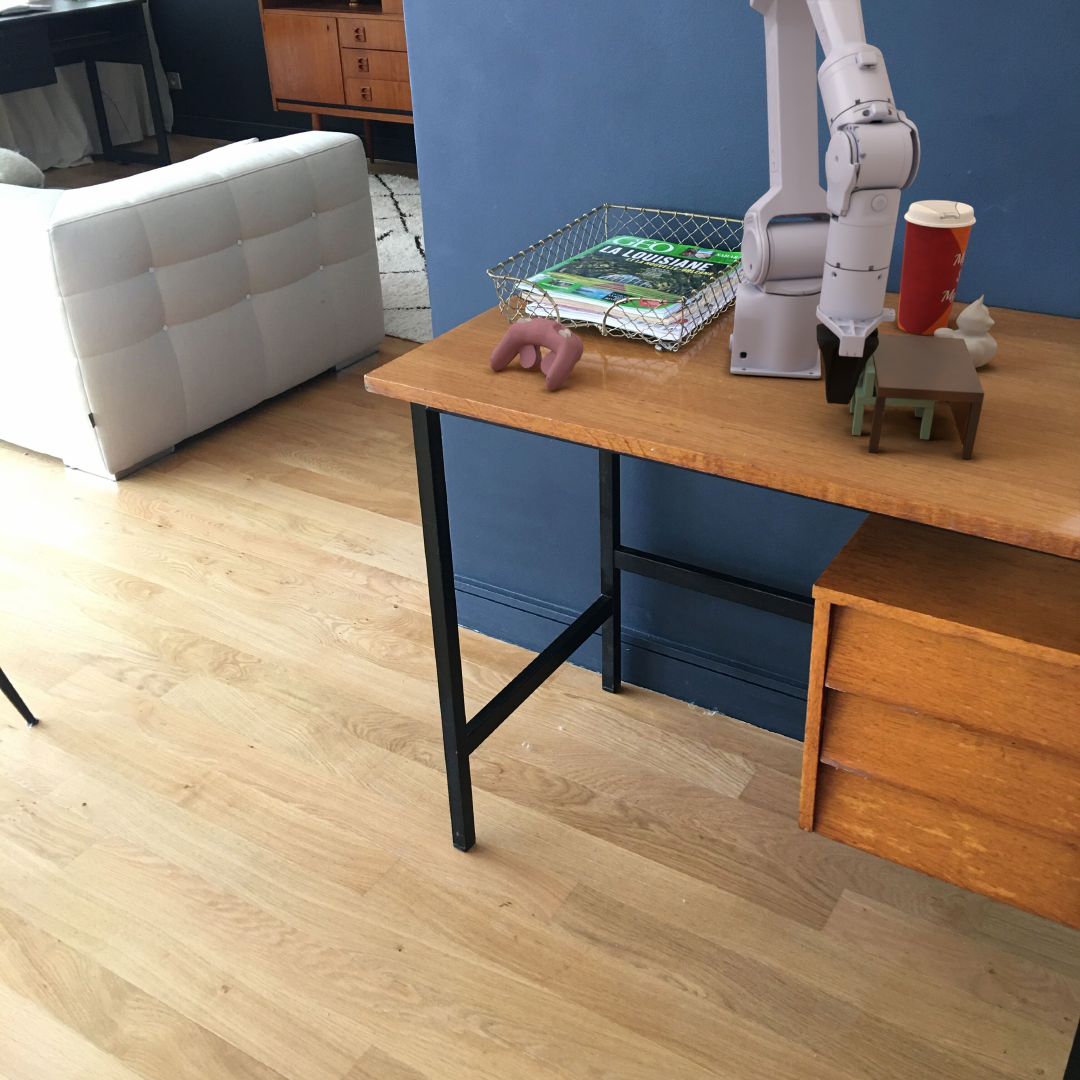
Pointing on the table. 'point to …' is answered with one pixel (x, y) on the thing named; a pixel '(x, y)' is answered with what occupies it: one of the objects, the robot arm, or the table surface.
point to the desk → (928, 381)
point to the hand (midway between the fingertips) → (837, 401)
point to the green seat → (867, 395)
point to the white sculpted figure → (974, 332)
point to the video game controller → (527, 343)
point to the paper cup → (932, 263)
